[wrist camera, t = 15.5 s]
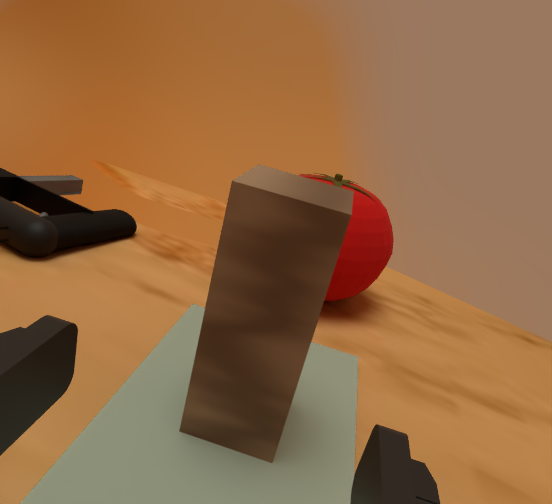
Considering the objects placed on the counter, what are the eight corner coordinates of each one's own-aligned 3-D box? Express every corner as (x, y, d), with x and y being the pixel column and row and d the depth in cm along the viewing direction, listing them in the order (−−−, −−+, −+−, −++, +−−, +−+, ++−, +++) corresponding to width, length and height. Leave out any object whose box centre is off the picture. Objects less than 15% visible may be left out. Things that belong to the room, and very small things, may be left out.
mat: (-7, 546, 15) (-7, 534, 15) (191, 311, 32) (192, 303, 31) (341, 684, 14) (347, 673, 13) (355, 364, 30) (358, 356, 30)
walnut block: (179, 431, 21) (232, 180, 16) (210, 375, 25) (258, 164, 20) (272, 463, 20) (351, 214, 16) (287, 401, 24) (353, 191, 20)
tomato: (281, 327, 33) (320, 190, 29) (223, 255, 42) (246, 145, 39) (394, 320, 38) (439, 205, 35) (320, 258, 48) (348, 163, 44)
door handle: (38, 153, 52) (-136, 147, 37) (172, 210, 44) (19, 229, 30) (35, 181, 53) (-136, 185, 38) (165, 241, 45) (14, 274, 31)
